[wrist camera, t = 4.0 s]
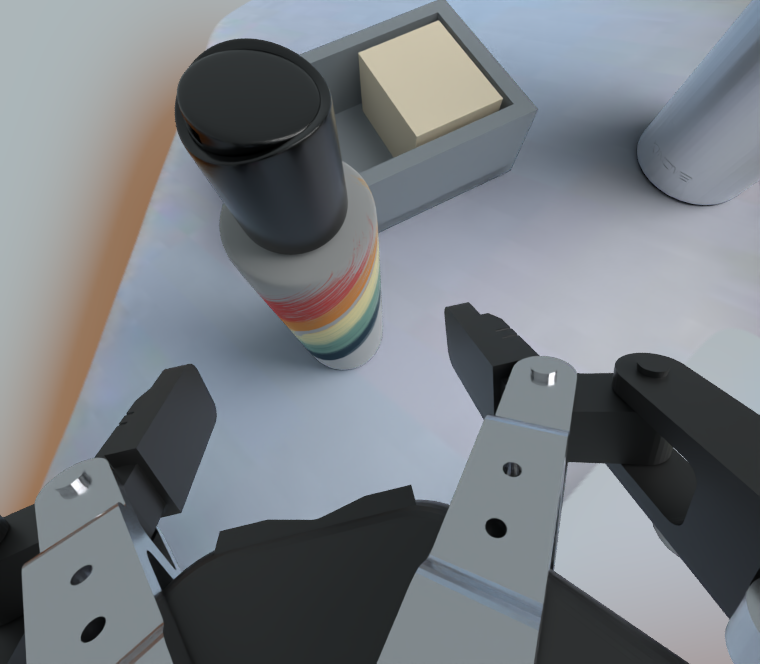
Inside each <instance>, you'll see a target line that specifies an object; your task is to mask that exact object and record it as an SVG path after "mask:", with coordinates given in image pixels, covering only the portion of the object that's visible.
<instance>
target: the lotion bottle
mask: <svg viewBox="0 0 760 664" xmlns="http://www.w3.org/2000/svg"><path fill="white" fill-rule="evenodd" d="M175 122H176V127H177V131H178V134H179V137H180V139H181V141H182V143H183V145H184V146H185V148H186V150H187V151H188V153H189V154H190V156H191V157H192V158H193V160H194V161H195V163H196V164H197V165H198V167H199V168H200V170H201V171H202V173H203V174H204V175H205V177H206V178H207V180H208V181H209V182H210V184H211V185H212V187H213V188H214V190H215V191H216V192H217V194H218V195H219V197H220V198H221V199H222V201H223V202H224V203H223V206H222V210H221V214H220V223H219V227H220V236H221V240H222V243H223V246H224V248H225V251H226V253H227V255H228V257H229V258H230V260H231V261H232V263H233V264H234V265H235V267H236V268H237V269H238V271H239V272H240V273H241V274H242V276H243V277H244V278H245V279H246V280H247V281H248V283H249V284H250V285H251V286H252V287H253V288H254V289H255V291H256V292H257V293H258V294H259V295H260V296H261V297H262V299H263V300H264V301H265V302H266V303H267V304H268V305H269V307H270V308H271V309H272V310H273V311H274V312H275V313H276V314H277V316H278V317H279V318H280V319H281V320H282V321H283V322H284V324H285V325H286V326H287V327H288V328H289V329H290V330H291V331H292V333H293V334H294V335H295V336H296V337H297V338H298V339H299V341H300V342H301V343H302V344H303V345H304V346H305V347H306V348H307V350H308V351H309V352H310V353H311V354H312V355H313V356H314V357H315V358H316V359H317V360H318V361H319V362H321V363H322V364H324V365H326V366H328V367H330V368H333V369H338V370H349V369H354V368H357V367H359V366H361V365H363V364H365V363H366V362H368V361H369V360H370V359H371V358H372V357H373V356H374V355H375V353H376V352H377V350H378V348H379V346H380V343H381V340H382V333H383V321H382V300H381V280H380V259H379V240H378V225H377V214H376V207H375V202H374V199H373V196H372V193H371V191H370V189H369V187H368V185H367V184H366V182H365V181H364V179H363V178H362V177H361V175H360V174H359V173H358V172H357V171H356V170H354V169H353V168H352V167H351V166H349V165H348V164H346V163H345V162H343V161H342V157H341V151H340V145H339V138H338V132H337V126H336V119H335V113H334V107H333V101H332V96H331V92H330V89H329V87H328V85H327V83H326V81H325V79H324V78H323V76H322V75H321V74H320V72H319V71H318V70H317V69H316V68H315V67H314V66H313V65H312V64H311V63H309V62H308V61H307V60H306V59H304V58H303V57H301V56H300V55H298V54H297V53H295V52H293V51H292V50H290V49H288V48H285V47H283V46H281V45H278V44H275V43H272V42H268V41H264V40H258V39H234V40H229V41H225V42H222V43H219V44H217V45H215V46H212V47H211V48H209V49H207V50H206V51H204V52H203V53H202V54H201V55H199V56H198V57H197V58H196V59H195V60H194V62H193V63H192V64H191V65H190V66H189V68H188V69H187V70H186V71H185V72H184V74H183V75H182V77H181V79H180V81H179V84H178V88H177V96H176V102H175Z"/></svg>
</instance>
